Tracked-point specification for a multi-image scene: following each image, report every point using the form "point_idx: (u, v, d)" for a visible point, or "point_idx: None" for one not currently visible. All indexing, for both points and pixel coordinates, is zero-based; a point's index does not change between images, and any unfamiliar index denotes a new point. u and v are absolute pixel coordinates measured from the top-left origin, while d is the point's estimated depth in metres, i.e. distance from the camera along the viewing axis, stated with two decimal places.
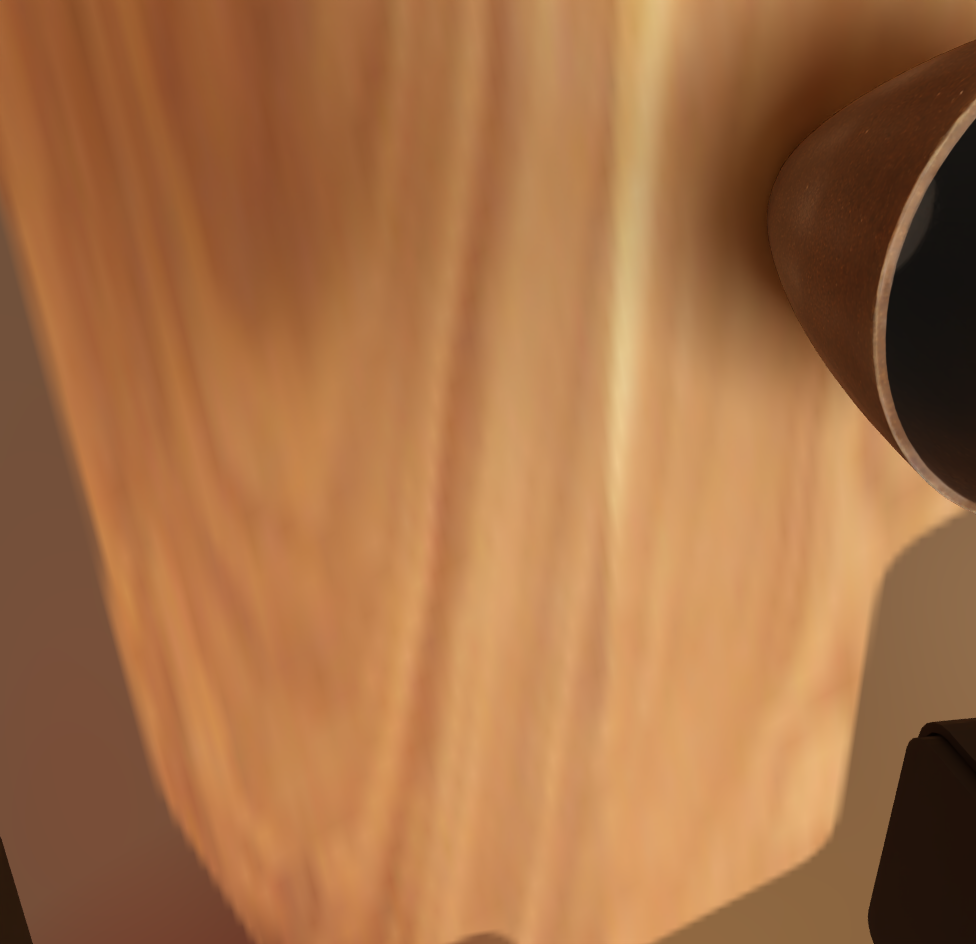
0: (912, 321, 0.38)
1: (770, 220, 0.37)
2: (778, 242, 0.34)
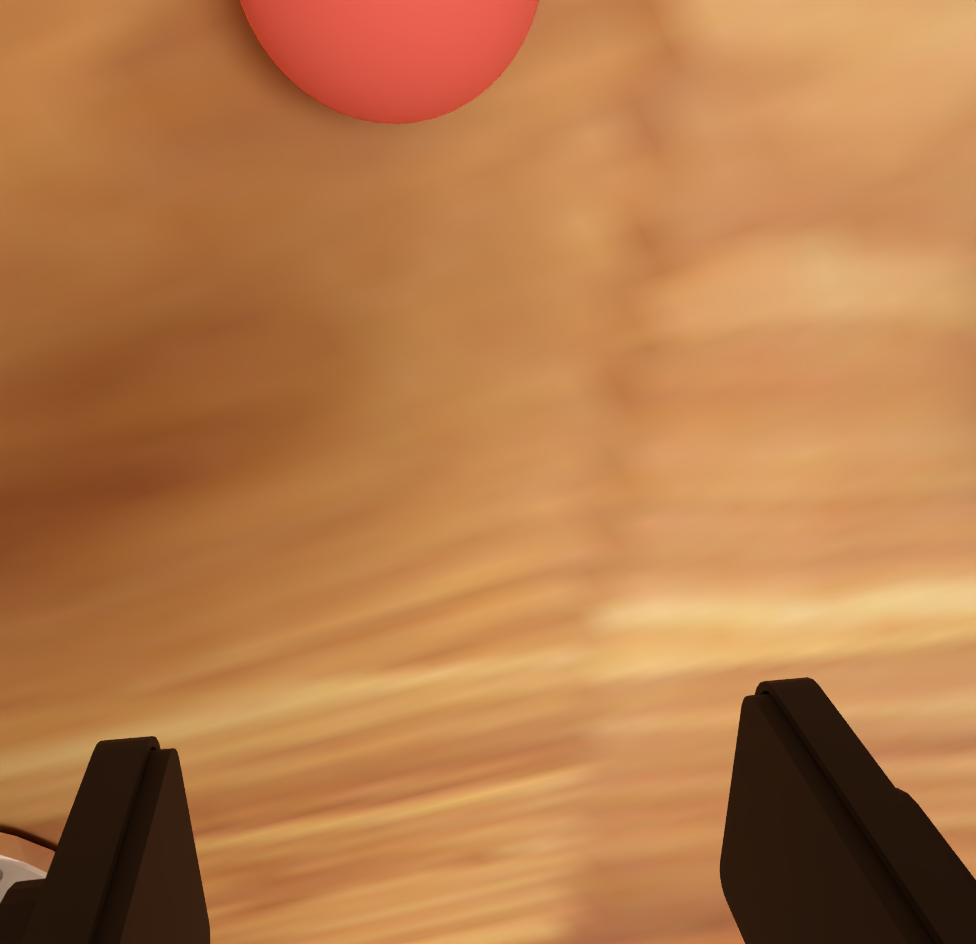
0: None
1: None
2: None
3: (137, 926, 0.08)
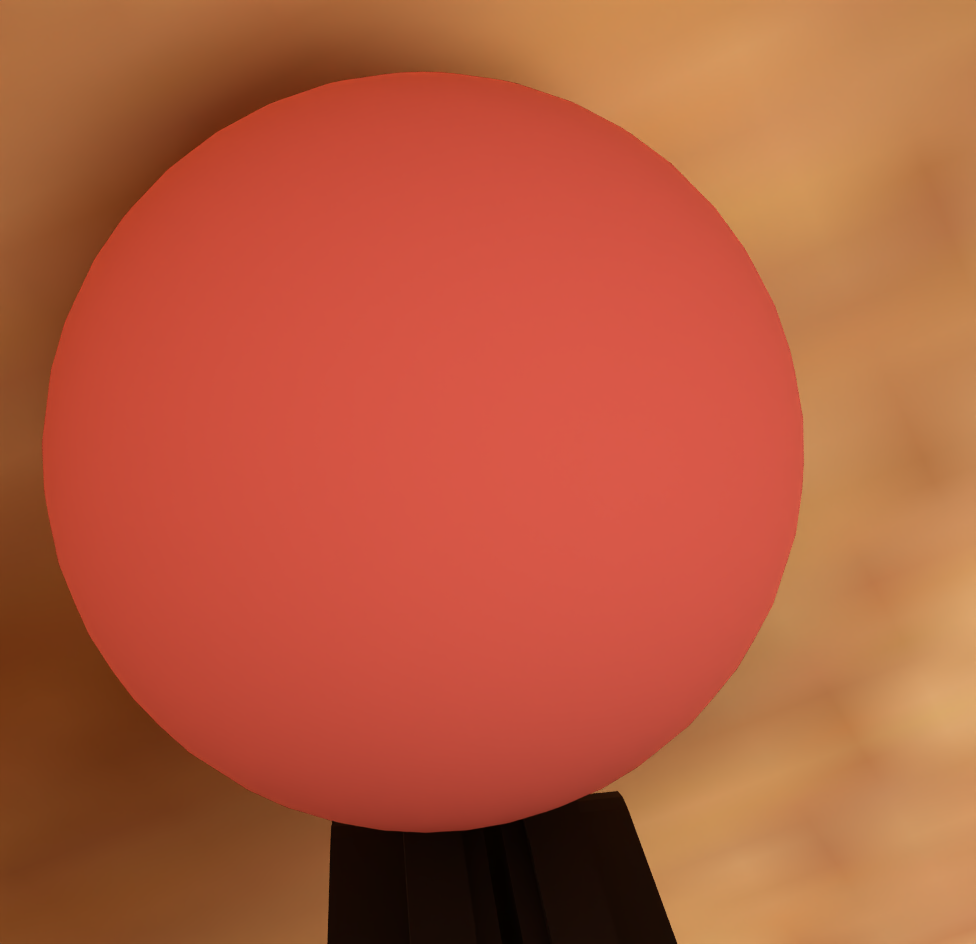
0: None
1: None
2: None
3: None
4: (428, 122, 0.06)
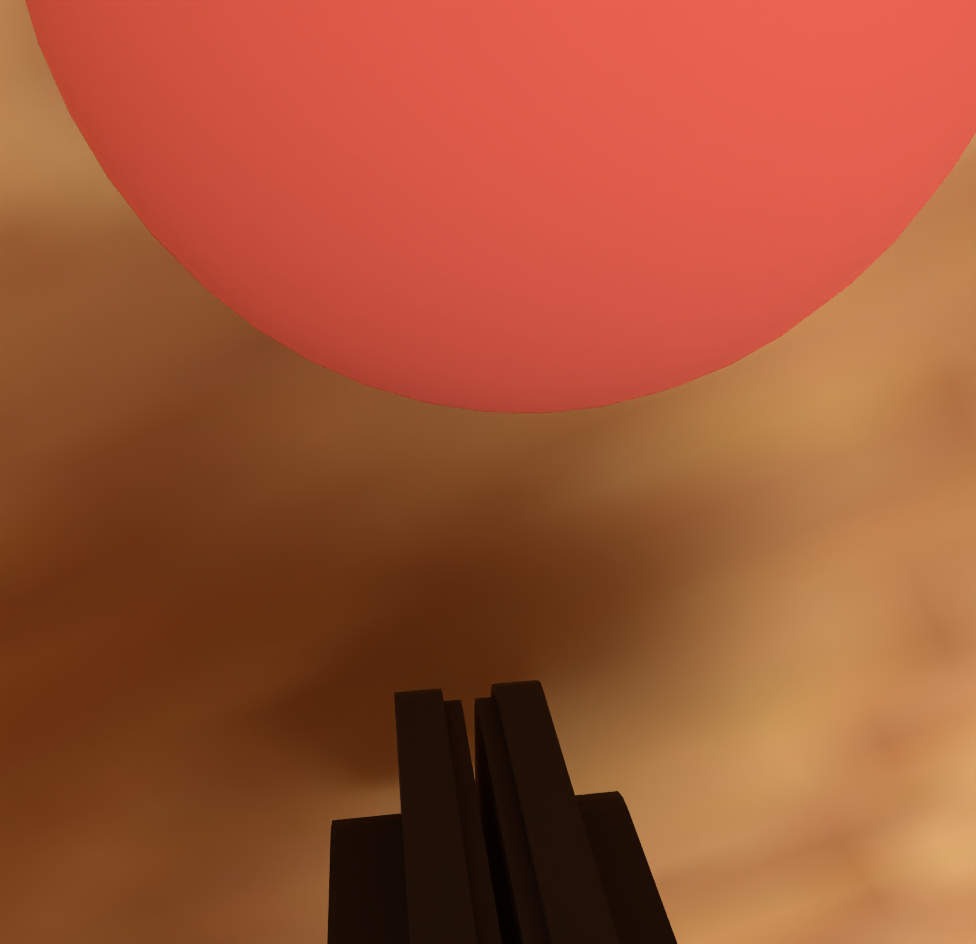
0: None
1: None
2: None
3: None
4: None
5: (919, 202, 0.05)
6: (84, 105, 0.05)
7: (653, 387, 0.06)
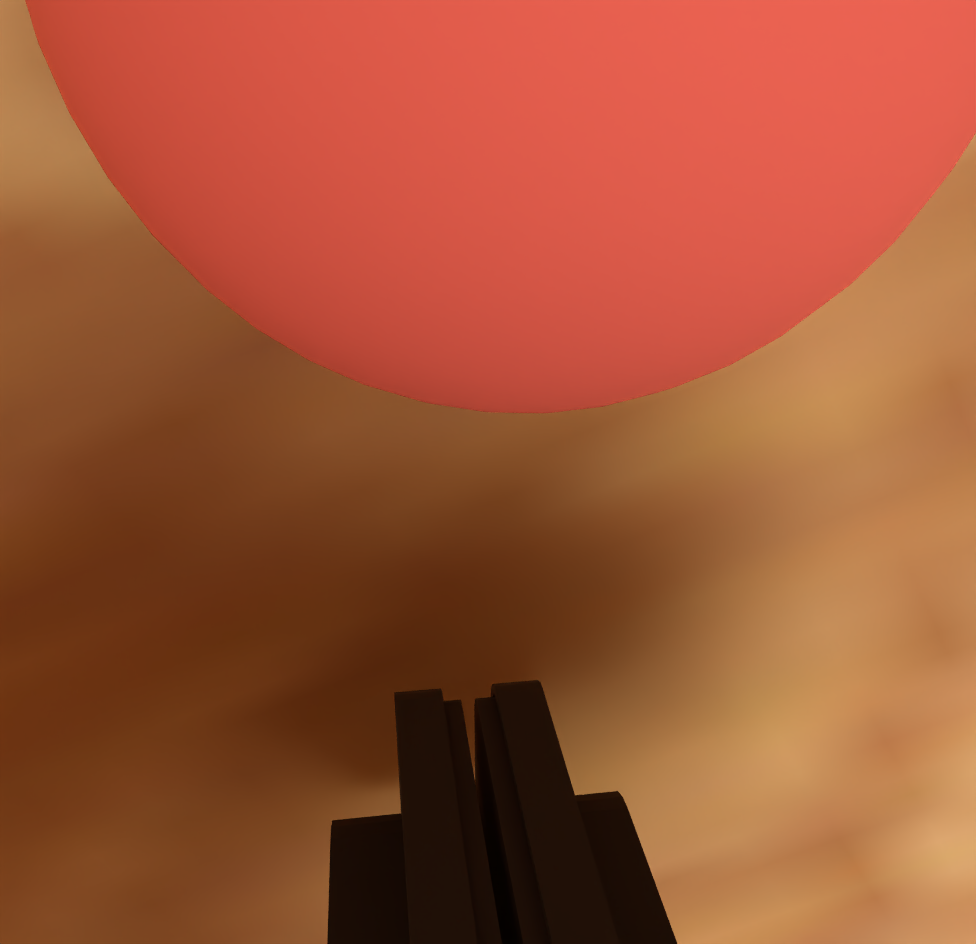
0: None
1: None
2: None
3: None
4: None
5: (919, 202, 0.05)
6: (84, 105, 0.05)
7: (653, 387, 0.06)
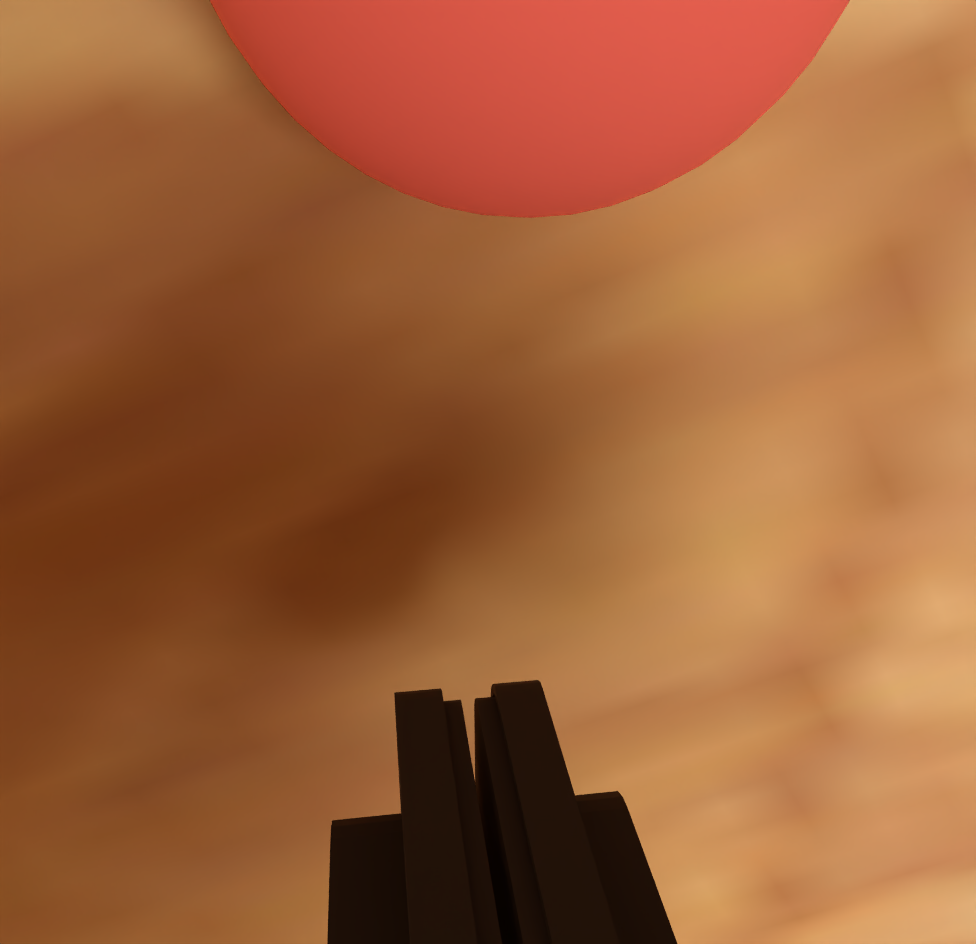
0: None
1: None
2: None
3: None
4: None
5: (805, 36, 0.07)
6: None
7: (618, 182, 0.08)
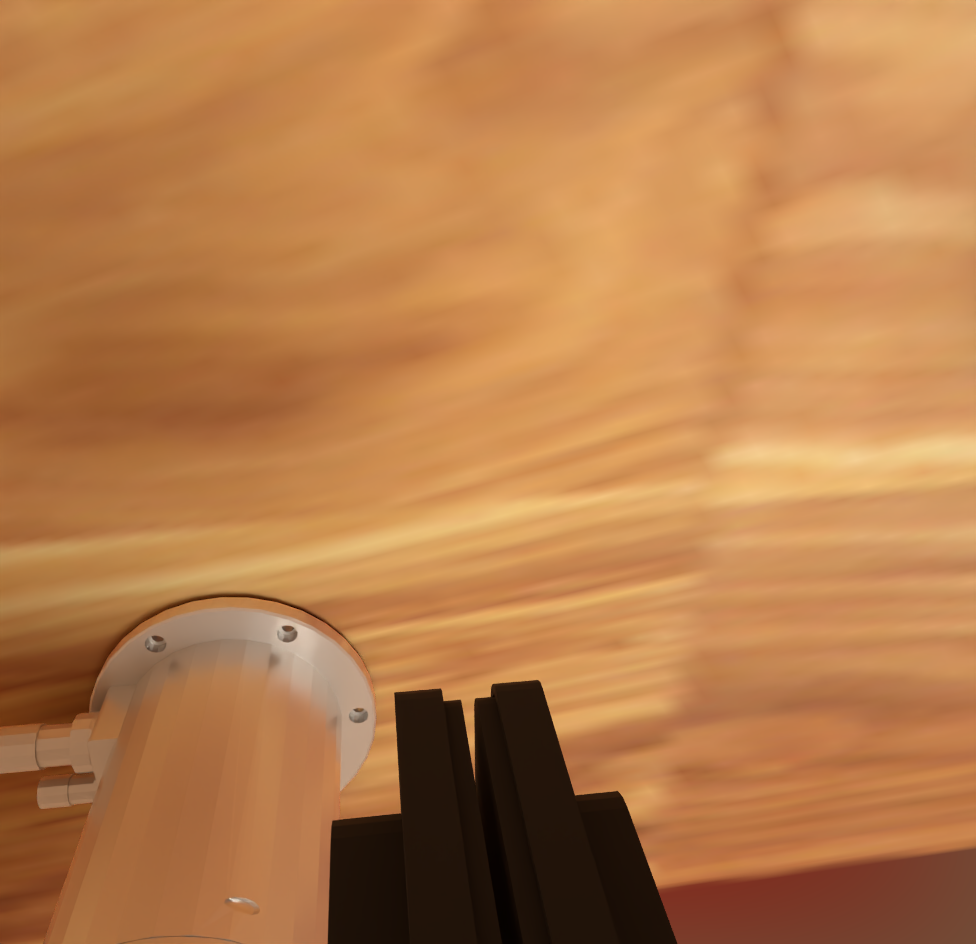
0: None
1: None
2: None
3: None
4: None
5: None
6: None
7: None
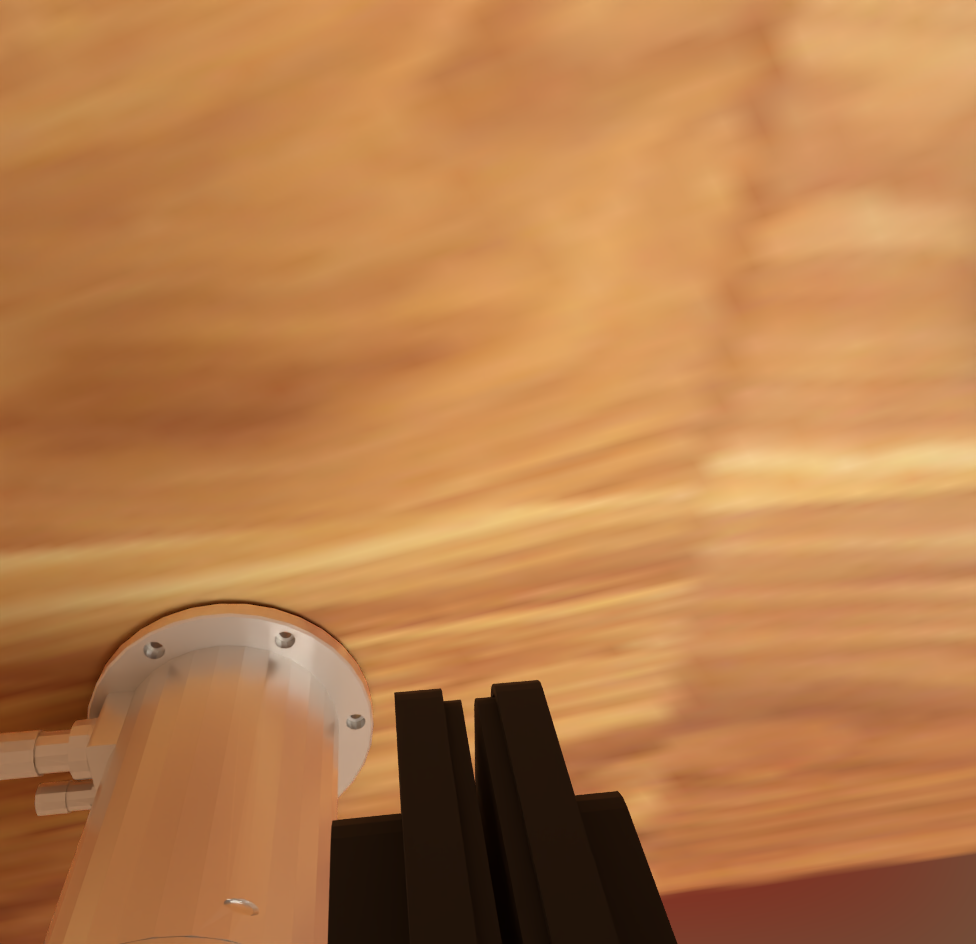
0: None
1: None
2: None
3: None
4: None
5: None
6: None
7: None
